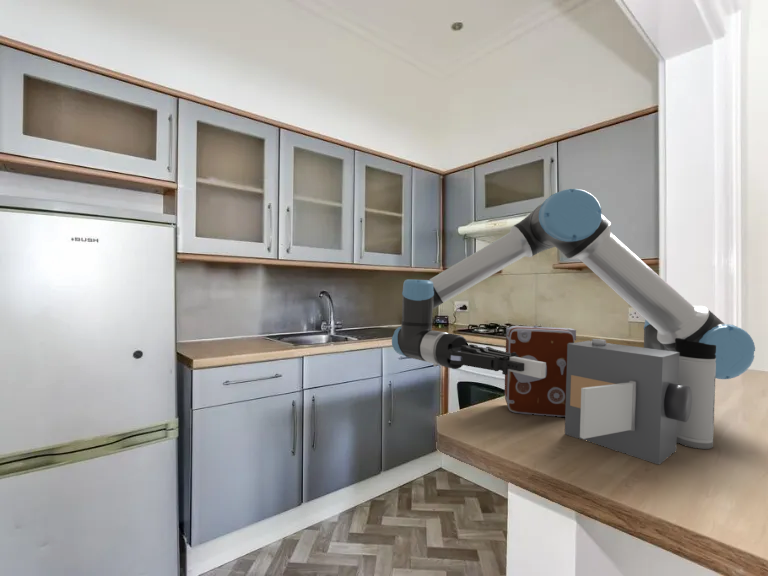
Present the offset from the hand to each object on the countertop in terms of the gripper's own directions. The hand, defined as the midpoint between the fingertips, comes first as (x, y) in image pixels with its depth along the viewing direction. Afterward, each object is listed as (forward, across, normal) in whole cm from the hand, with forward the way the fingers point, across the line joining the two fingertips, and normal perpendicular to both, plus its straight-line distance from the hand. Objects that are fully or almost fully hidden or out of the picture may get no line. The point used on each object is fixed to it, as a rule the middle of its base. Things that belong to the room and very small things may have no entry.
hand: (543, 370), depth 70 cm
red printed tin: (-10, -21, -14) cm, 28 cm away
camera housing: (+8, -15, -14) cm, 22 cm away
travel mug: (+15, -27, -14) cm, 34 cm away
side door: (+9, -4, -9) cm, 14 cm away
